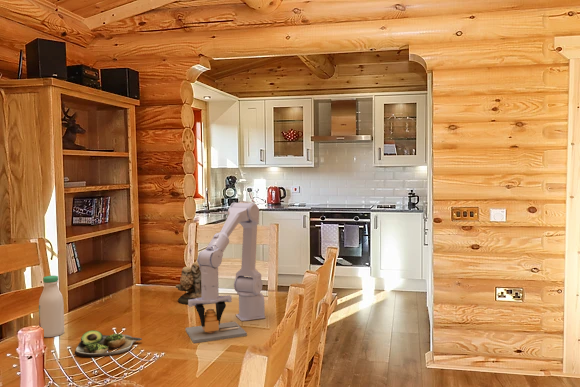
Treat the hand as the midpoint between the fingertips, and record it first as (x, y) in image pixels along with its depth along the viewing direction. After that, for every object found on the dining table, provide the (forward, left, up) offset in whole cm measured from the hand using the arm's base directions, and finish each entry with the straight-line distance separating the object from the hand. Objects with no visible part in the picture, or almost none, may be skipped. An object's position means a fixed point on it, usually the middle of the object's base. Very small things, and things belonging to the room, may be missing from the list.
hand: (210, 324), depth 166 cm
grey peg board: (-2, -1, -3) cm, 4 cm away
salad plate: (+34, -2, -4) cm, 34 cm away
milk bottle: (+50, -23, -4) cm, 55 cm away
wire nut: (0, 0, -2) cm, 2 cm away
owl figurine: (-5, -46, -4) cm, 46 cm away
